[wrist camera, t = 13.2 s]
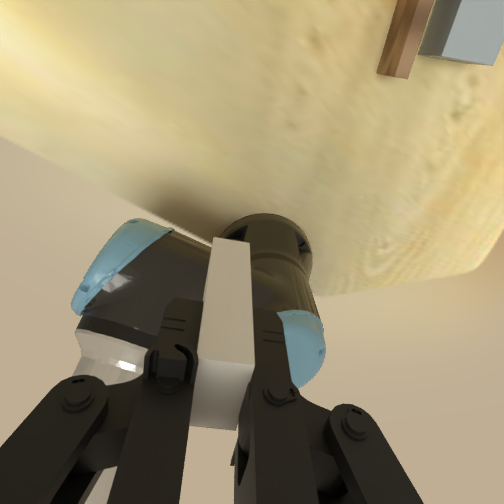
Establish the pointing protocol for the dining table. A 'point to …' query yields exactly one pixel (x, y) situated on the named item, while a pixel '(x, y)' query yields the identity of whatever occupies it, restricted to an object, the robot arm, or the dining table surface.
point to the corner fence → (404, 37)
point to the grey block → (465, 31)
